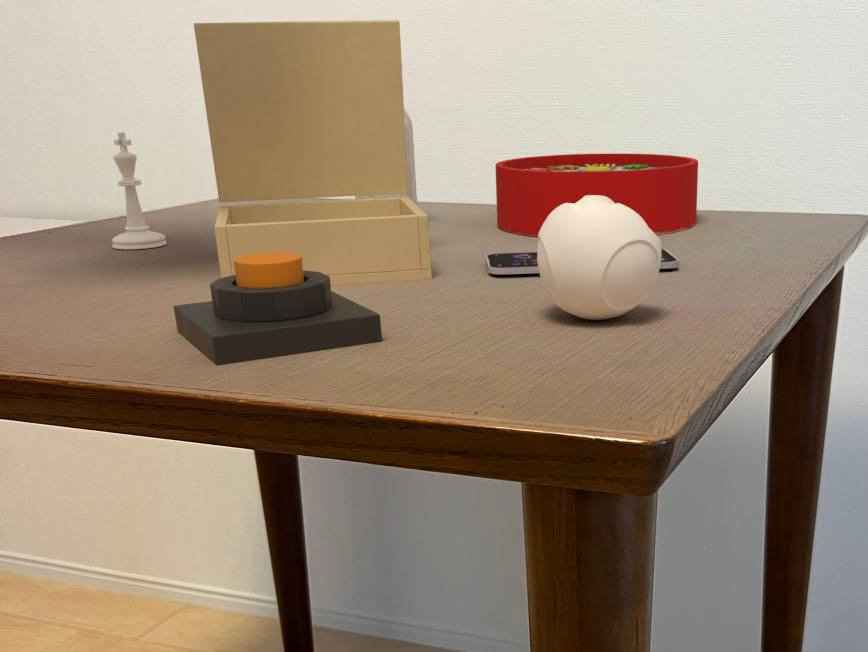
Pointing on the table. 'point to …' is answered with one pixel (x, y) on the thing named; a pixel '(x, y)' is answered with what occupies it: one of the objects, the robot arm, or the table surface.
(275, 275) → the button
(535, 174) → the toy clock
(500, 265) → the smartphone
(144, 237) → the chess piece
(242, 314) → the block
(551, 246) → the motion sensor
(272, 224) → the open wooden box
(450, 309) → the table surface
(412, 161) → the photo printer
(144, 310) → the table surface
